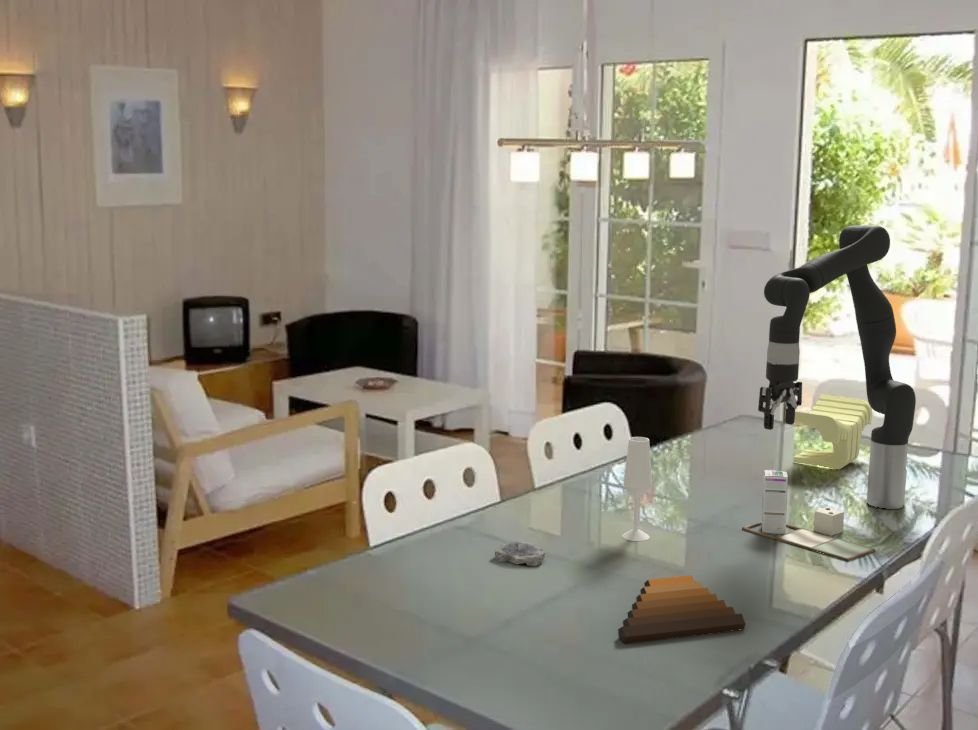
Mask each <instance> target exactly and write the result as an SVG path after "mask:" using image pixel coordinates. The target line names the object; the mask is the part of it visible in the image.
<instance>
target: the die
mask: <svg viewBox="0 0 978 730" xmlns="http://www.w3.org/2000/svg"><path fill="white" fill-rule="evenodd" d="M813 517H814V518H813V519H814V520H813V531H814V532H818V533H821V534H825V535H828V536H832V537H833V536H835V535H837V534H840V533H843V531H844V519H845V511H842V510H839V509H835V508H831V507H827V506H826V507H825V506H824V507H822V508H820V509H817V510H814V516H813Z"/></svg>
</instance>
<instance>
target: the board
mask: <svg viewBox="0 0 978 730" xmlns="http://www.w3.org/2000/svg"><path fill="white" fill-rule="evenodd" d="M758 526H762V520H761V521H759V522H754V523H752V524H749V525H746V526H743V527H741V530H743V531H745V532H749V533H753V534H756V535H758V536H762V537H765V538H768V539H772V540H776V541H780V542H783V543H786V544H789V545H791V546H792V545H793V546H795V547H798V548H802V549H805V548H806V550H808V549H810V550H809V551H812V550H814V551H813V552H815V551H818V552H821V553H820V554H822V553H824V554H823V555H825V554H826V556H828V555H829V557H833V558H835V559H839V560H842V561H846V562H850V561H852V560H856V559H859V558H861V557H863V556H866V555H868V554H870V553H873V552H875V551H876V550H875V548H873V547H871V546H870V547H869V546H866V545H863V544H859V543H856V542H852V541H848V540H845V539H842V538H837V537H834V536H833V535H832V536H831V535H827V534H824V533H821V532H817V531H814V530H811V529H806V528H803V527H800V526H796V525H792V524H789V523H786V528H787V527H788V528H791V529H793V530H792V531H790V532H786V533H785V534H779V535H778V536H775V535H772V534H770V533H764V532H762V531H758V530H755V529H752V528H754V527H758ZM794 529H795V530H794ZM818 552H817V553H818Z"/></svg>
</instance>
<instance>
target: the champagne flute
mask: <svg viewBox="0 0 978 730" xmlns="http://www.w3.org/2000/svg"><path fill="white" fill-rule="evenodd" d="M627 445H628V446H627V454H626V459H625V461H626V462H625V469H624V477H623V486H624V489H625V490H626V491H627V493H628V494H629V495H630V496H631V497H633V498H634V507H633V508H634V509H633V528H632V529H630V530H628V531H626V532H625V533H622V535H621V538H623V539H624V540H627V541H631V542H643V541H647V540H649V539H650V538H651V537H650V535H649V534H647V533H646V532H645V531H642V530H641V529H639V524H640V523H639V521H640V519H639V518H640V498H642V497H644V496H645V495H646V494H647V493H648V492H649V491H650V489H651V488H652V485H653V482H652V465H651V447H650V445H651V444H650V439H649V438H648V437H644V436H632V437H629V438H628V444H627Z"/></svg>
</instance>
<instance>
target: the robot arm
mask: <svg viewBox="0 0 978 730" xmlns="http://www.w3.org/2000/svg"><path fill="white" fill-rule="evenodd" d="M838 246H839V248H838V249H837V250H833V251H831V252H827V253H824V254H821V255H818V256H815V257H814V258H812V259H810V260H809V261H807V262H805V263H804V264H802V265H801V266H799V267H796V268H792V269H790V270H786V271H782V272H779V273H777V274H775V275H773V276H772V277H771V278H770V279H768V281H766V283H765V285H764V288H763V289H764V290H763V296H764V298H765V300H766V301H767V302H768V303H769V304H771V305H773V306H779V307H785V311H784V313H783V315H777V316H774V317H772V318H771V319H770V322H769V332H768V345H767V350H766V363H765V364H766V367H765V368H766V369H765V378H766V379H767V380H768V381H769V384H768V386H761V387H759V395H758V396H759V397H758V408H757V409H758V410H757V411H758V412H760V413H763V415H764V417H763V428H764V429H766V430H770V431H771V430H774V425H775V423H774V422H775V414H774V413H775V411H776V410H777V408H778V407H780V406H781V404H784V405H785V407H786V408H785V410H786V413H785V412H784V423H785V424H786V425H794V424H795V423H794V420H795V412H796V410H797V409H798V407H800V406H802V403H803V401H802V399H803V382H802V381H798V380H799V368H800V367H799V366H800V337H801V335H800V332H801V331H800V330H801V324H802V321H803V318H804V315H805V312H806V309H807V307H808V304H809V300H810V294H812V293H813V294H814V293H815V292H816V291H818V290H821V288H823V287H826V286H827V285H828V284H830V283H831V282H833V281H835V280H837V279H838V278H840V277H842V276H844V275H846V278H847V281H848V285H849V288H850V294H851V298H852V303H853V307H854V314H855V320H856V325H857V332H858V336H859V340H860V345H861V352H862V359H863V364H864V373H865V374H864V375H865V387H866V388H865V389H866V396H867V402H868V403H869V405H870V406H871V409H872V411H874V412H877V413H879V414H882V415H884V418H883V423H882V425H881V426H877V427H874V428H873V429H872V430H871V433H870V434H871V435H870V436H871V437H870V448H869V449H870V450H869V451H870V452H869V460H868V461H869V462H868V464H869V465H868V475H867V476H868V477H867V491H866V501H865V502H866V504H867V503H868V504H869V506H870V505H871V506H870V507H873V506H874V507H873V508H877V507H879V508H878V509H882V508H886V509H885V510H897V509H902V508H903V506H904V504H905V497H906V496H905V495H906V483H907V474H908V473H907V471H908V470H907V462H908V461H907V460H908V450H909V449H908V448H909V447H908V446H909V439H910V438H909V437H910V436H911V434H912V431H913V427H914V420H915V419H914V418H915V411H916V404H917V403H916V401H917V400H916V399H917V398H916V393H915V390H914V389H913V387H912V385H909V384H907V383H904V382H901V381H897V380H894V378H893V376H892V372H891V368H890V367H891V366H890V354H891V351H892V348H893V346H894V343H895V340H896V336H897V325H896V320H895V315H894V310H893V307H892V304H891V303H890V301H889V299H888V298H887V296H886V295H885V294H884V292H882V290H881V288H879V286H878V285H877V283H876V282H875V281H874V279H873V277H872V275H871V273H870V270H869V266H868V265H870V264H873V263H877V262H878V261H881V260H883V259H884V258H885V257H887V254H888V253H889V251H890V247H891V237H890V234H889V232H888V230H887V229H886V228H884V227H883V226H881V225H877V224H864V225H861V224H859V225H848V226H845V227H844V228H843V229H842V231H841V233H840V234H839V241H838ZM796 397H797V399H796ZM764 403H765V404H764ZM868 504H867V505H868Z"/></svg>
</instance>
